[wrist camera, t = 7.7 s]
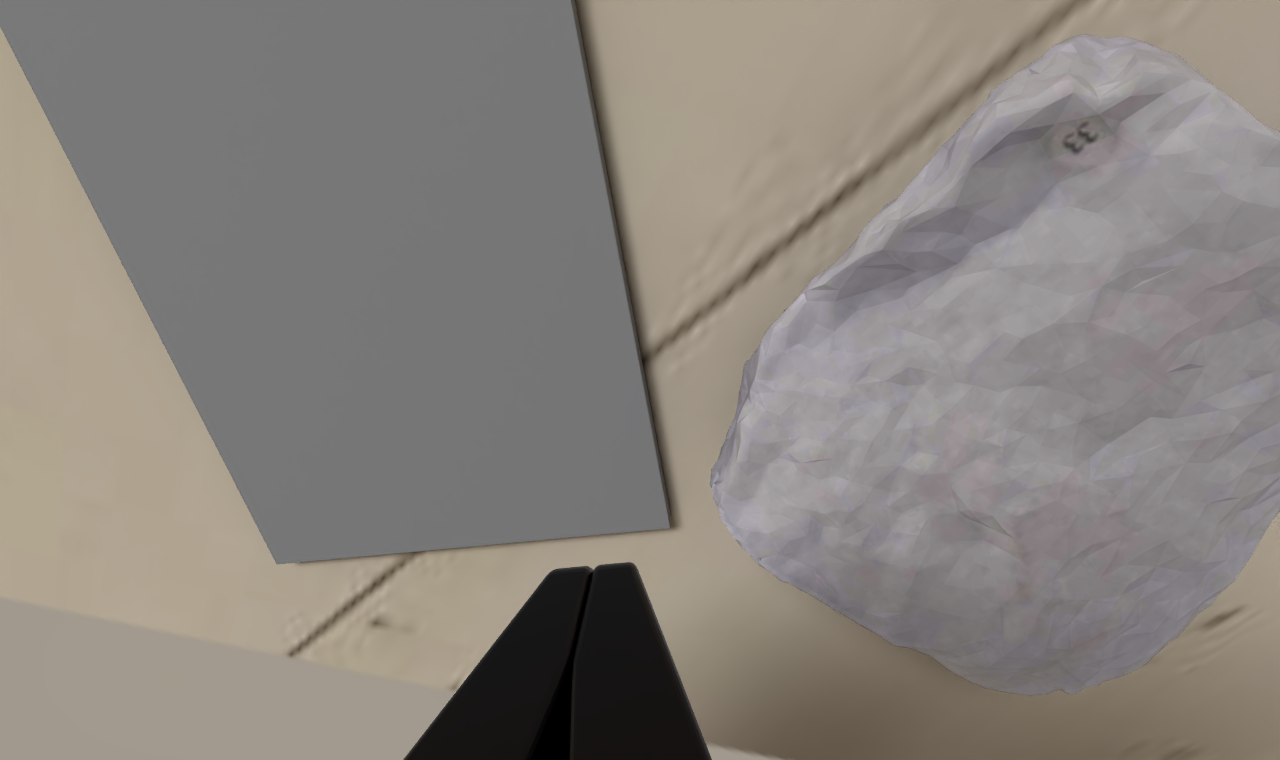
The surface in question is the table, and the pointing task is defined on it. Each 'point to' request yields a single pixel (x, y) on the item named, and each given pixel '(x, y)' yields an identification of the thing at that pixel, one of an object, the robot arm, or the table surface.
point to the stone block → (1033, 382)
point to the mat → (368, 256)
